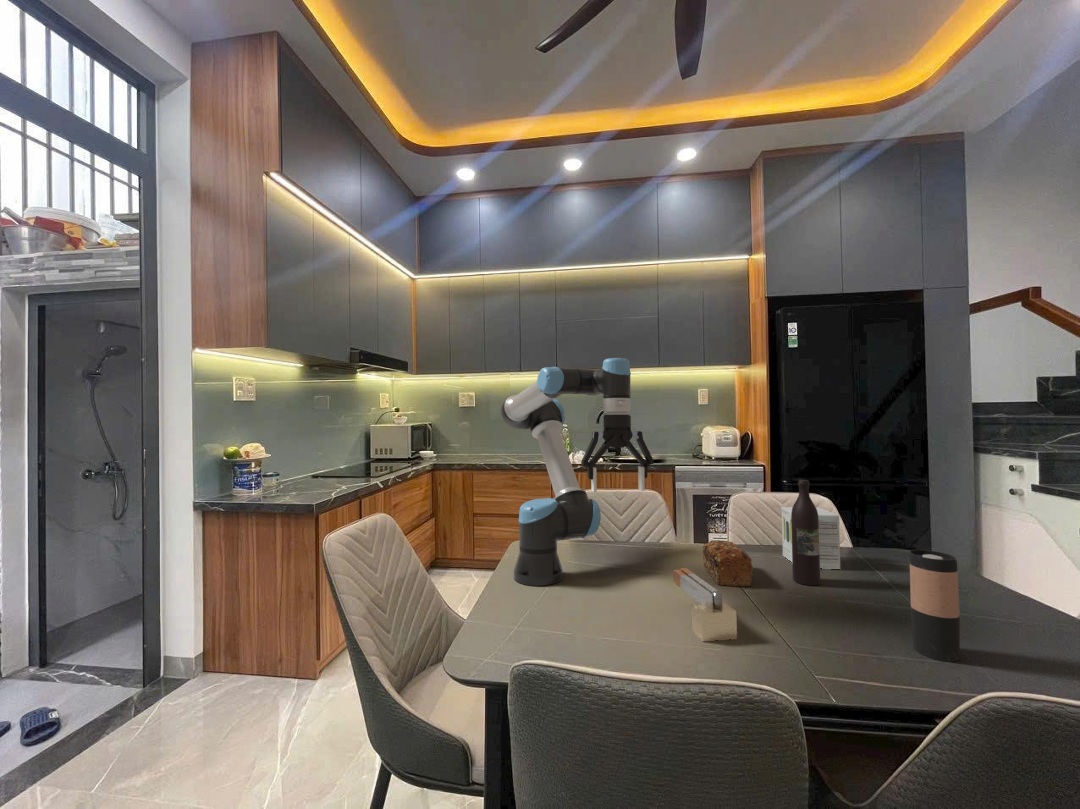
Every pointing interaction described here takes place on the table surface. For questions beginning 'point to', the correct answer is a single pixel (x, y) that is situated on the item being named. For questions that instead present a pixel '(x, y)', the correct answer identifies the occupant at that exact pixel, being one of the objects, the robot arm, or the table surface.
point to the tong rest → (707, 612)
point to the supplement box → (827, 537)
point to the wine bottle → (805, 538)
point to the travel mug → (935, 604)
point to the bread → (727, 563)
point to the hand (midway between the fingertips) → (617, 490)
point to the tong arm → (715, 593)
